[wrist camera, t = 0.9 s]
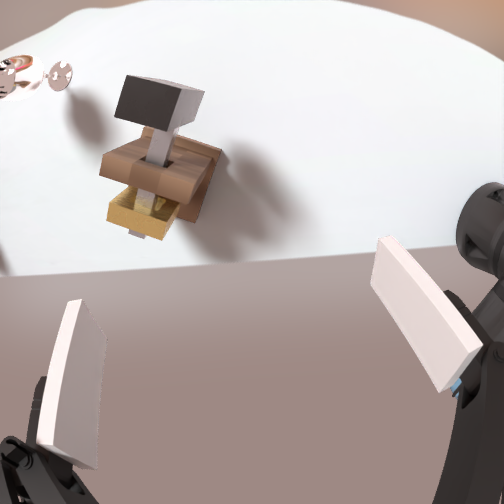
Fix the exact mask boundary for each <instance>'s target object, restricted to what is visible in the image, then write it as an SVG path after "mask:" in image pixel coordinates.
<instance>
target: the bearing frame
mask: <svg viewBox="0 0 504 504" xmlns="http://www.w3.org/2000/svg"><path fill="white" fill-rule="evenodd" d="M154 129H155V128H152V127H148V126H145V127H144V128H143V132H142V135H141V138H139V139H137V140H135V141H132V142H130V143H128V144H125V145H123V146H121V147H119V148H116V149H114V150H112V151H110V152H108V153H105V154H103V158H102V163H101V168H100V173H99V175H100V176H103V177H106V178H109V179H112V180H115V181H118V182H121V183H124V184H127V185H129V186H133V187H136V188H139V189H142V190H145V191H148V192H151V193H154V194H157V195H160V196H163V197H166V198H169V199H172V200H174V201H177V202H180V203H181V205H180V208H179V211H178V214H177V216H176V217H178V218H181V219H184V220H187V221H190V222H193V223H195V222H196V220H197V217H198V214H199V211H200V208H201V205H202V202H203V199H204V196H205V194H206V191H207V188H208V185H209V182H210V179H211V177H212V174H213V171H214V168H215V166H216V163H217V160H218V158H219V155H220V152H221V150H222V149H219V148H216V147H213V146H210V145H208V144H205V143H202V142H199V141H196V140H193V139H189V138H186V137H183V136H180V135H177V136H176V139H175V142H174V145H173V148H172V151H171V155H170V158H169V161H168V164H167V168H163V167H160V166H157V165H154V164H151V163H148V162H145V160H146V156H147V153H148V149H149V146H150V142H151V139H152V136H153V132H154ZM129 186H128V187H129Z"/></svg>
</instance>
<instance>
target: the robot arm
mask: <svg viewBox="0 0 504 504" xmlns="http://www.w3.org/2000/svg"><path fill="white" fill-rule="evenodd" d="M456 242H457V247H458V250H459V252H460V254H461V256H462V257H463V258H464V259H465V260H466V261H467V262H468V263H469V264H470V265H472V266H473V267H475V268H478V269H480V270H483V271H485V272H488V273H490V274H492V275H495V276H496V277H497V278H498V279H499V280H498V282H497V283H496V284H495V286H494V287H493V288H492V289H491V291H490V292H489V293H488V294H487V295H486V297H485V298H484V299H483V300H482V302H481V303H480V304H479V305H478V306H477V308H476V309H475V310H474V311H473V312H472V313H471V312H470V310H469V309H468V308H467V307H465V306H466V305H465V304H464V303H463V302H462V300H461V299H460V298H459V297H458V296H457V295H455V294H454V293H452V292H451V291H449V290H446V291H444V292H442V291H441V289H440V288H439V287H438V286H437V285H436V283H435V282H434V281H433V280H432V279H431V278H430V276H429V275H428V274H427V273H426V272H425V271H424V269H423V268H422V267H421V266H420V265H419V264H418V263H417V262H416V261H415V259H414V258H413V257H412V256H411V255H410V254H409V253H408V252H407V251H406V250H405V248H404V247H403V246H402V245H401V244H400V243H399V242H398V241H397V240H396V239H395V238H394V237H393V236H387V237H383V238H378V244H377V250H376V256H375V262H374V267H373V273H372V278H371V283H370V285H371V286H372V288H373V289H374V291H375V292H376V293H377V295H378V296H379V298H380V299H381V301H382V302H383V304H384V305H385V307H386V308H387V310H388V311H389V313H390V314H391V316H392V317H393V319H394V320H395V322H396V323H397V325H398V327H399V328H400V329H401V331H402V333H403V334H404V336H405V337H406V339H407V341H408V342H409V344H410V345H411V347H412V349H413V350H414V352H415V353H416V355H417V357H418V358H419V360H420V362H421V363H422V365H423V367H424V368H425V370H426V372H427V373H428V375H429V377H430V378H431V380H432V382H433V384H434V385H435V387H436V389H437V391H438V392H439V393H440V392H442V391H444V390H446V389H447V388H449V387H450V389H451V391H452V392H453V395H452V397H456V398H457V400H458V402H457V408H456V415H455V420H454V425H453V430H452V435H451V440H450V445H449V449H448V453H447V457H446V461H445V465H444V468H443V472H442V475H441V479H440V482H439V485H438V488H437V491H436V494H435V497H434V500H433V503H432V504H499V500H500V496H501V492H502V500H501V504H504V185H502V184H500V183H496V182H492V183H488V184H485V185H483V186H481V187H480V188H479V189H477V190H476V191H475V192H474V193H473V194H472V195H471V197H470V198H469V199H468V201H467V202H466V204H465V206H464V208H463V210H462V212H461V215H460V217H459V221H458V225H457V231H456ZM107 341H108V339H107V338H106V336H105V334H104V333H103V331H102V330H101V328H100V327H99V325H98V324H97V322H96V321H95V319H94V317H93V316H92V314H91V313H90V311H89V309H88V308H87V306H86V305H85V303H84V301H83V300H82V299H79V300H74V301H69V302H68V304H67V307H66V310H65V313H64V316H63V320H62V323H61V326H60V329H59V333H58V336H57V340H56V343H55V347H54V351H53V355H52V359H51V363H50V367H49V371H48V376H45V377H41V378H40V380H39V382H38V384H37V386H36V388H35V392H34V398H33V399H34V401H33V402H32V410H31V413H30V419H29V425H28V432H27V439H26V444H25V443H24V442H22V441H21V440H19V439H17V438H16V437H14V436H8V437H6V438H4V440H3V441H2V442H1V444H0V504H99V503H98V502H97V501H96V499H95V498H94V497H93V496H92V494H91V493H90V492H89V490H88V489H87V488H86V486H85V485H84V484H83V482H82V481H81V479H80V478H79V476H78V475H77V474H76V473H75V472H74V471H73V470H72V466H73V465H75V466H77V467H79V468H81V469H92V470H97V445H98V424H99V409H100V397H101V386H102V377H103V369H104V362H105V354H106V347H107ZM17 495H18V496H20V497H21V502H19V499H18V496H17Z"/></svg>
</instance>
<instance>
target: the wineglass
mask: <svg viewBox="0 0 504 504" xmlns="http://www.w3.org/2000/svg"><path fill="white" fill-rule="evenodd" d="M71 76H72V69H71V66H70V64H69V63H68V62H66V61H60V62H57V63H56V64H55V65H54V66H53V67H52V68H51V70H50V72H49V74H45V73H44V67H43V64H42V62H41V60H40V59H39V58H37V57H36V56H33V55H27V54H25V55H18V56H14V57H10V58H8V59H5V60H3V61H2V62H0V99H1V100H6V101H19V100H23V99H26V98H28V97H30V96H32V95H33V94H34V93H35V92H36V91H37V90H38V88H39V87H40V85H41V83H42V81H43V79H44V78H48V83H49V86H50V87H51V89H53V90H55V91H59V90H62V89H64V88H65V87H66V86H67V85H68V83H69V82H70V79H71Z"/></svg>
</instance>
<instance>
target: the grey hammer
mask: <svg viewBox="0 0 504 504" xmlns="http://www.w3.org/2000/svg"><path fill="white" fill-rule="evenodd" d="M204 92H205V91H202V90H199V89H195V88H192V87H188V86H185V85H181V84H178V83H174V82H170V81H167V80H161V79H154V78H147V77H140V76H131V75H127V76H126V79H125V82H124V85H123V88H122V91H121V95H120V98H119V101H118V105H117V108H116V112H115V115H114V117H116V118H120V119H123V120H127V121H131V122H134V123H138V124H141V125H145V126H148V127H152V128H155V129H154V132H153V136H152V139H151V142H150V146H149V149H148V153H147V156H146V160H145V162H148V163H151V164H154V165H157V166H160V167H163V168H167V164H168V161H169V158H170V155H171V151H172V148H173V145H174V142H175V139H176V136H177V133H178V130H179V127H180V126H183V125H185V124H188V123H190V122H193V121H194V119H195V116H196V114H197V111H198V108H199V106H200V103H201V100H202V98H203V95H204ZM158 196H159V195H157V194H154V193H151V192H148V191H145V190H142V189H139V188H138V191H137V196H136V200H135V203H136V204H139V205H142V206H145V207H148V208H150V209H153V210H155V207H156V203H157V200H158ZM128 234H131V235H134V236H137V237H140V238H142V239H145V237H146V236H147V235H145V234H142V233H139V232H136V231H133V230H131V229H129V233H128Z"/></svg>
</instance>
